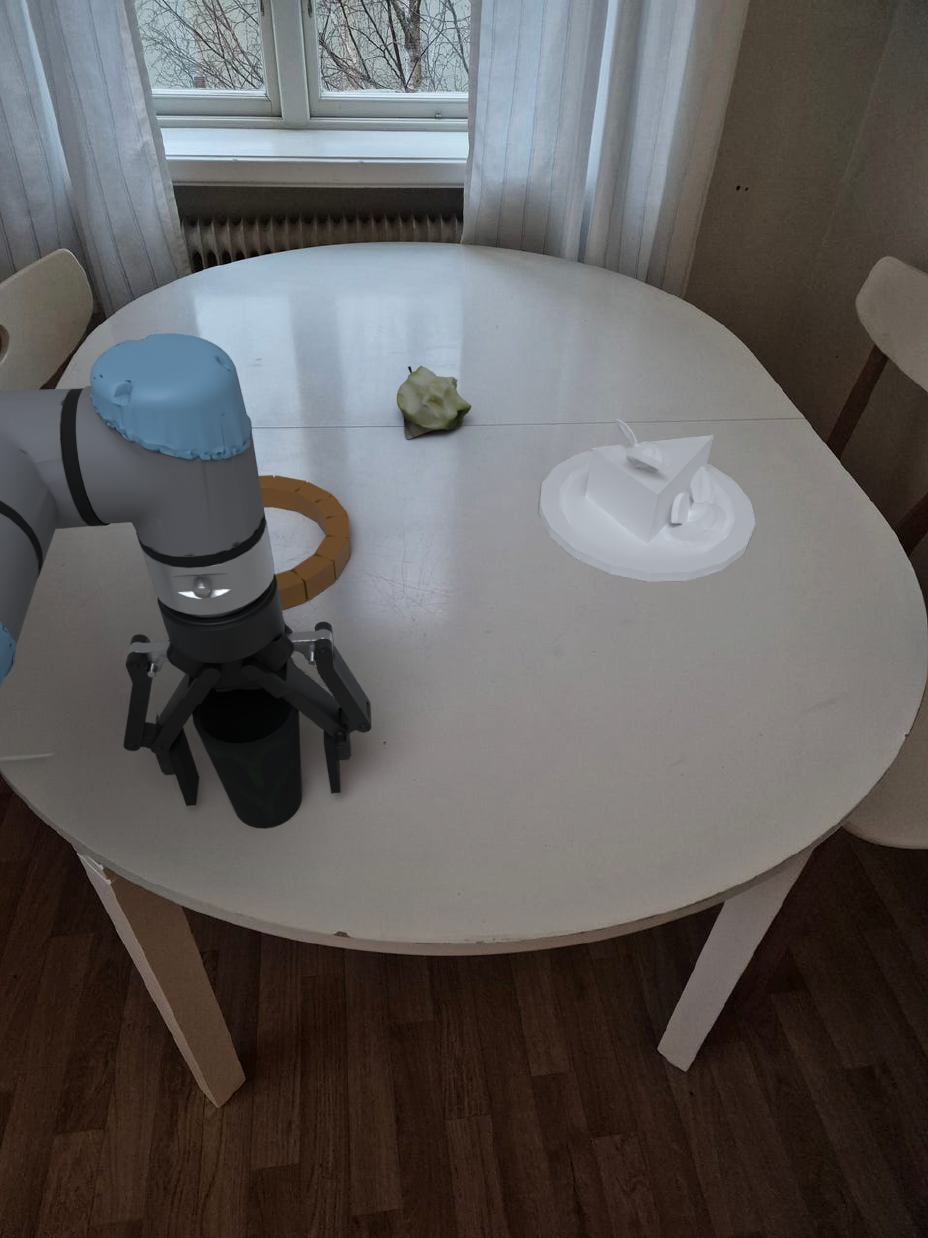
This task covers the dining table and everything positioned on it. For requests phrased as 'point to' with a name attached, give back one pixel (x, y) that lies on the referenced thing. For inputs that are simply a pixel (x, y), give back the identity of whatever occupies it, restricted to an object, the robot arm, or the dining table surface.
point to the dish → (647, 509)
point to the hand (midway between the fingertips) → (264, 785)
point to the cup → (254, 752)
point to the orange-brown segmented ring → (332, 550)
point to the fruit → (430, 403)
